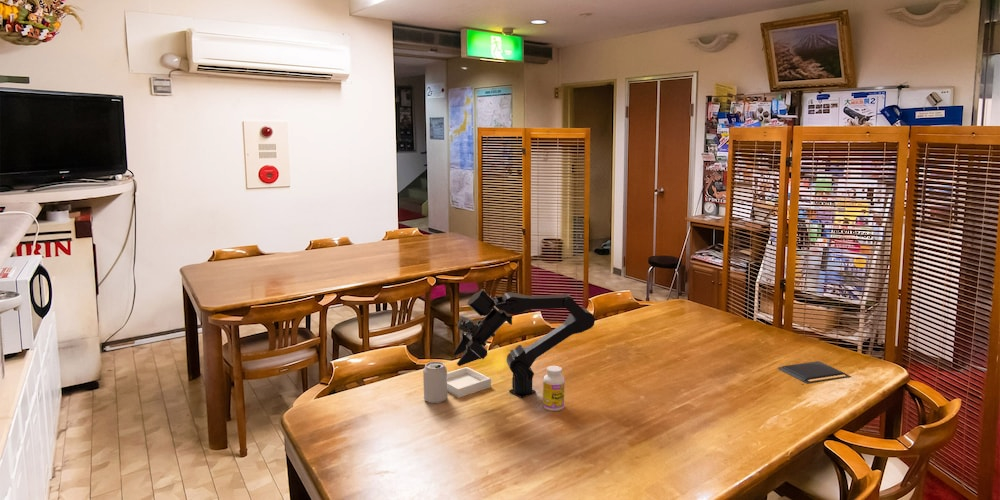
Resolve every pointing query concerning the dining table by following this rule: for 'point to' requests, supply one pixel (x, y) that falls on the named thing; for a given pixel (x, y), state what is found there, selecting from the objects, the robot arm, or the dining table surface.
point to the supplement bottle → (553, 389)
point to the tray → (466, 382)
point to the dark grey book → (813, 372)
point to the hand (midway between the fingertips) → (456, 359)
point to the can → (435, 382)
